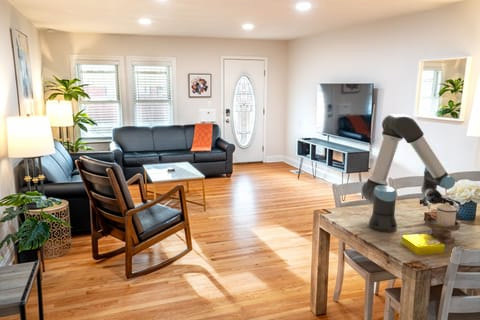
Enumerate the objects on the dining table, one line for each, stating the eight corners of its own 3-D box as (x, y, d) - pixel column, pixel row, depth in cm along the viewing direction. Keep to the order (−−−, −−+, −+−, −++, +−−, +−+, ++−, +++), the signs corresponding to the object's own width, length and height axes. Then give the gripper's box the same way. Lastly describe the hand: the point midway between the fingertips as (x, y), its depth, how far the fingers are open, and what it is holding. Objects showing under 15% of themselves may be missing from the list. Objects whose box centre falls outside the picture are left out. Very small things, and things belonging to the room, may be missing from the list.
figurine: (442, 213, 237) (444, 190, 234) (443, 209, 245) (445, 187, 242) (455, 215, 233) (457, 192, 231) (456, 211, 241) (458, 188, 238)
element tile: (426, 241, 196) (427, 232, 195) (445, 253, 182) (446, 244, 181) (399, 243, 194) (400, 234, 193) (417, 255, 180) (418, 246, 179)
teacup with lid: (454, 223, 199) (457, 202, 197) (455, 228, 191) (457, 206, 189) (429, 219, 205) (431, 199, 202) (429, 224, 197) (431, 203, 194)
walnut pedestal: (430, 243, 193) (431, 226, 191) (419, 231, 208) (421, 215, 206) (463, 244, 190) (465, 227, 189) (450, 232, 206) (452, 217, 204)
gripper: (456, 203, 215) (469, 215, 195) (409, 200, 221) (417, 212, 201) (458, 191, 214) (471, 202, 194) (410, 188, 220) (418, 199, 200)
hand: (443, 207), depth 197 cm, fingers open, 13 cm apart
